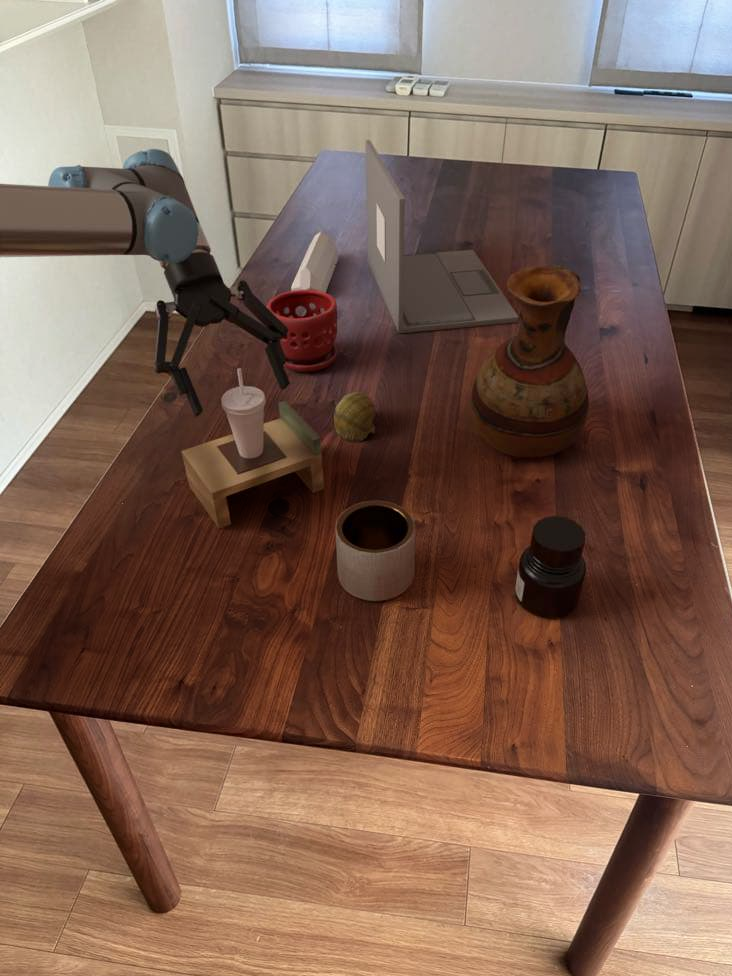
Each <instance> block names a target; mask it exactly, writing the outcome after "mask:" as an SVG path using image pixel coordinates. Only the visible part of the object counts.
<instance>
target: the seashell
mask: <svg viewBox="0 0 732 976" xmlns="http://www.w3.org/2000/svg"><path fill="white" fill-rule="evenodd" d="M375 415H376V407H375V404H374V401H373V400H372V399H371V398H370V396H368V394H366V393H364V392H361V391H354V392H351V393H348V394H344V395H343V397H342V398H341V400H340V401H339V402H338V403H337V405H336V407H335V409H334V413H333V424H334V430H335V433H336V434H337V435H338V436H339V437H340V438H342V439H344V440H345V441H348V442H353V443H354V442H357V443H359V442H362V441H364V439H366V438H367V437H368V435H370V433H371V434H372V435H375V433H376V431H375V430H376V426H375V425H374V424H373V419H374V417H375Z"/></svg>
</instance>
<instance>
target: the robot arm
mask: <svg viewBox="0 0 732 976" xmlns="http://www.w3.org/2000/svg"><path fill="white" fill-rule="evenodd" d="M200 222H201V221H200V220H199V218H198V214H197V212H196V210H195V207H194V204H193V202H192V199H191V196H190V194H189V191H188V188H187V186H186V182H185V179H184V177H183V176H182V174H181V172H180V170H179V168H178V166H177V164H176V161H175V160H174V158H173V156H171V155H170V153H169V152H166V151H164V150H163V149H159V148H149V149H147V150H145V151H143V150H140V151H137V152H135V153H133V154H132V155H129V156H128V157H127V158H126V160H125V161H124V163H123V164H122V168H119V167H101V166H99V167H98V166H82V165H80V164H77V165H73V166H72V165H71V166H59V167H56V168H55V169H53V170H52V172H51V174H50V176H49V179H48V183H47V185H35V184H17V183H16V184H13V183H0V258H34V257H35V258H37V257H38V258H40V257H41V258H42V257H43V258H44V257H86V256H87V257H90V256H94V257H95V256H148V257H150V258H151V259H153V260H155V261H157V262H159V265H160V267H161V268H162V269H164V270H163V275H164V278H165V280H166V283H167V285H168V288H169V290H170V292H171V294H172V297H173V301H167V302H165V301H164V300H161V299H160V300H158V301H156V305H155V308H154V312H155V316H156V319H157V333H156V344H155V355H154V366H153V371H154V373H155V374H160V375H161V374H168V376H170V378H171V379H172V382H173V385H174V386H175V387H174V388H175V390H176V392H177V393H178V395H180V396H182V395H183V396H184V395H185V396H186V397H187V400H188V404H189V405H190V408H191V410H192V412H193V416H194V417H199V416H201V414H202V413H203V411H204V409H203V407H202V404H201V402H200V400H199V397H198V395H197V392H196V389H195V387H194V384H193V383H192V379H191V377H190V375H189V373H188V370H187V368H186V366H184V367H180V364H181V362H182V360H183V359H182V358H183V357H184V354H185V351H186V348H187V345H188V342H189V340H190V337H191V335H192V332H193V329H194V327H195V326H197V327H200V328H204V327H205V328H206V327H207V326H210V325H212V324H214V325H215V324H220V323H222V321H224V320H225V321H226V322H228V323H230V324H234V325H235V326H237V327H238V328H240V329H242V330H243V331H245V332H247V333H248V334H250V336H251V335H252V336H253V337H254V338H256V339H258V340H259V341H261V342H263V343H264V344H265V345H266V347H265V348H264V351H265V353H266V357H267V359H268V362H269V364H270V366H271V368H272V371H273V374H274V376H275V378H276V381H277V384H278V386H279V388H280V391H283V390H285V389H287V388H288V387H289V385H290V384H291V382H290V379H289V377H288V374H287V372H286V369H285V366H284V364H285V363H286V356H285V354H284V351H283V349H282V346H281V344H280V340H281V339H283V338H284V337H285V335H286V334H287V333H288V328H287V327H286V326H285V325H284V324H283V323H282V322H281V321H280V320H279V319H278V318H277V317H276V316H275V315H274V314H273V313H272V312H271V311H270V310H269V309H268V308H267V305H265V304H264V303H263V302H262V301H261V300H260V299H259V298H258V297H257V296H256V295H255V294H254V293H253V292H252V290H251V288H250V286H249V284H248V283H247V281H246V280H244V279H243V280H240V281H239V282H238V284H237V285H236V284H235V285H234V286H233V285H232V286H231V287H228V286H227V285H226V284H225V282H224V279H223V276H222V274H221V272H220V269H219V267H218V264H217V261H216V259H215V256H214V255H213V254H211V251H212V250H211V249H212V248H211V246H210V244H209V242H208V239H207V237H206V235H205V232H204V230H203V227H202V225H201V223H200ZM232 297H233V298H235V300H237V301H240V302H241V303H242V304H243V306H245V308H246V309H247V310H248V311H250V313H252V314H253V316H254V317H255V318H256V319H258V320H259V321H258V320H256V319H254V318H252V317H251V316H249V315H248V314H246V313H244V311H241V309H240V308H239V307H238V306H237V305H235V304H233V303H232V302H231V299H232ZM173 312H176V313H177V314H179V315H180V316H181V317H183V318H184V319H186V320H185V323H184V324H183V328H182V330H181V333H180V336H179V339H178V341H177V343H176V346H175V349H174V352H173V355H172V357H171V360H170V361H166V355H167V345H168V335H169V334H168V333H169V323H170V319H171V318H172V317H173ZM260 322H261V323H260Z"/></svg>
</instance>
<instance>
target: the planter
mask: <svg viewBox="0 0 732 976" xmlns="http://www.w3.org/2000/svg"><path fill="white" fill-rule="evenodd" d="M334 529H335V545H336V546H335V549H336V571H337V572H336V573H337V577H338V580H339V584H340V585H341V587H342V589H344V591H346V592H347V593H348V594H350V595H351V596H353V597H355V598H357V599H360V600H364V601H369V602H382V601H388V600H391V599H394V598H396V597H399V596H401V595H402V594H404V593H406V591H407V590H408V589H409V588H410V586H411V585H412V583H413V580H414V577H415V570H416V569H415V567H416V566H415V565H416V564H415V563H416V562H415V561H416V560H415V559H416V558H415V557H416V556H415V555H416V554H415V553H416V552H415V551H416V547H415V546H416V543H415V542H416V525H415V520H414V517H413V516H412V515H411V514H410V512H409V511H408V510H407V509H405V508H403V507H402V506H400V505H399V504H396V503H393V502H390V501H385V500H367V501H362V502H359V503H355V504H353V505H351V506H349V507H348V508H346V509H345V510H344V511H342V512H341V514H339V516H338V518H337V519H336V522H335V528H334Z"/></svg>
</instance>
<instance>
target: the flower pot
mask: <svg viewBox="0 0 732 976" xmlns="http://www.w3.org/2000/svg"><path fill="white" fill-rule="evenodd" d="M310 304H313V305H314V306H315V307H314V308H312V307H311V305H310ZM337 305H338V304H337V301H336V299H335V297H333V296H332V295H331V294H328V293H327V292H326V293H324V292H320V291H315V290H296V291H291V290H289V291H287V292H283V293H280V294H278V295H276V296H274V297H272V299H270V300H269V301H268V302H267V304H266V307H267V308H268V309H269V310H270V311H271V312H272V313H273V314H274V315H275V316H276V317H277V318H278V319H279V320H280V321H281V322H282V323H283V324H284V325H285V326H286V327H287V328H288V333H287V334H286V335H285V337H284V338H283V339H281V340H280V344H281V346H282V349H283V351H284V354H285V356H286V363H285V364H284V365H283V367H284V368H287V369H289V370H290V371H291V370H292V371H296V372H301V373H303V372H305V373H308V372H316V371H319V370H322V369H324V368H327V367H328V366H330V365H331V364H332V363H333V362H334V361H335V359H336V357H337V355H338V349H337V346H336V345H335V342H336V338H337V334H338V307H337ZM298 307H302V308H304V309H305V311H306V312H305V314H304V315H298V314H297V312H296V310H297V308H298ZM286 308H288V311H287V312H286V313H285V309H286ZM321 309H323V310H324V312H321ZM314 314H315V315H314Z"/></svg>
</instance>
